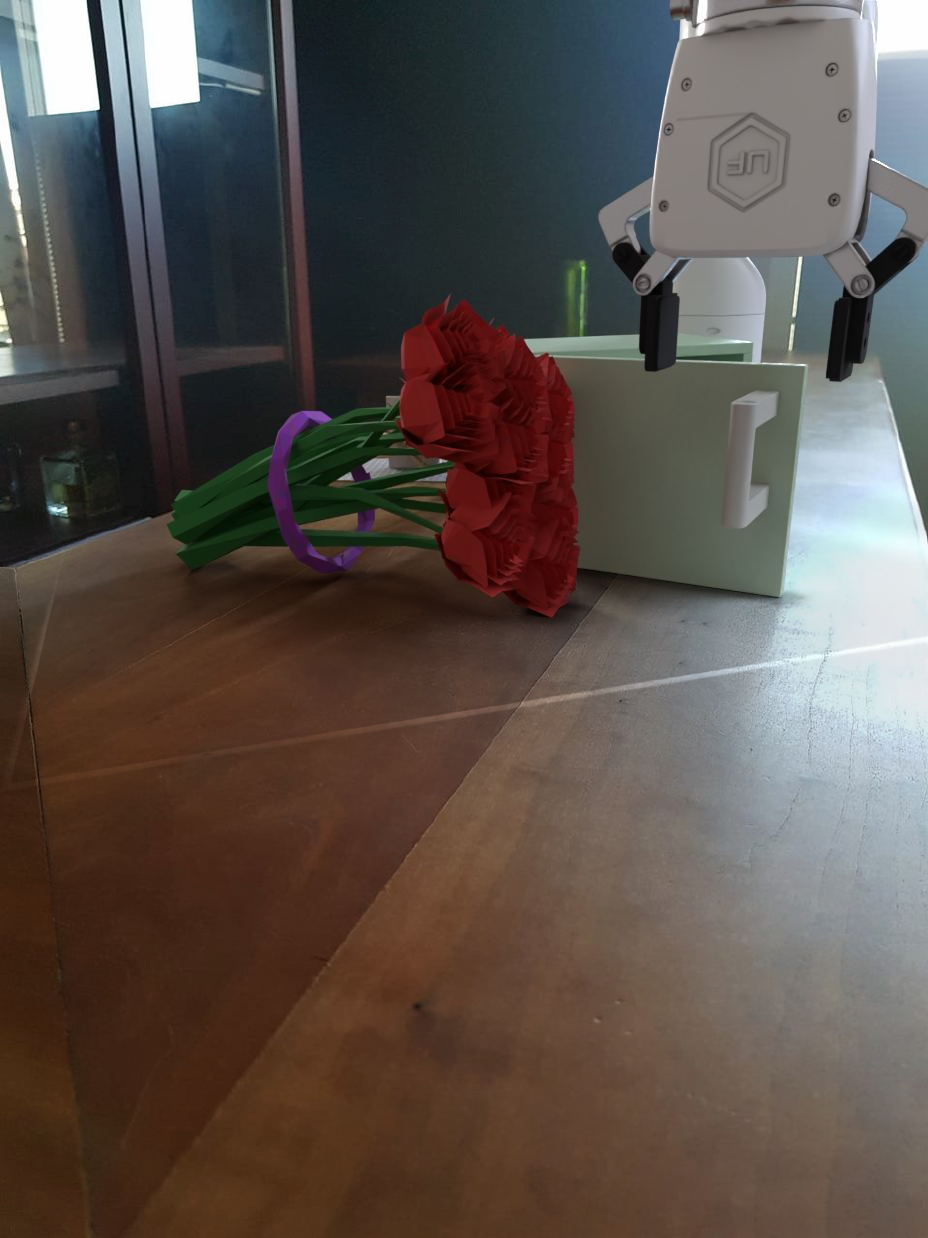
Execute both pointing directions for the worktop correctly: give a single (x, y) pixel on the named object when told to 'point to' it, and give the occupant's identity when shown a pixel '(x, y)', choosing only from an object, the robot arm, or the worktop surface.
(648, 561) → the door
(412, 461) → the architectural model
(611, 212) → the robot arm
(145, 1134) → the worktop surface
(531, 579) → the bouquet
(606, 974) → the worktop surface
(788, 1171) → the worktop surface
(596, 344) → the cupboard
